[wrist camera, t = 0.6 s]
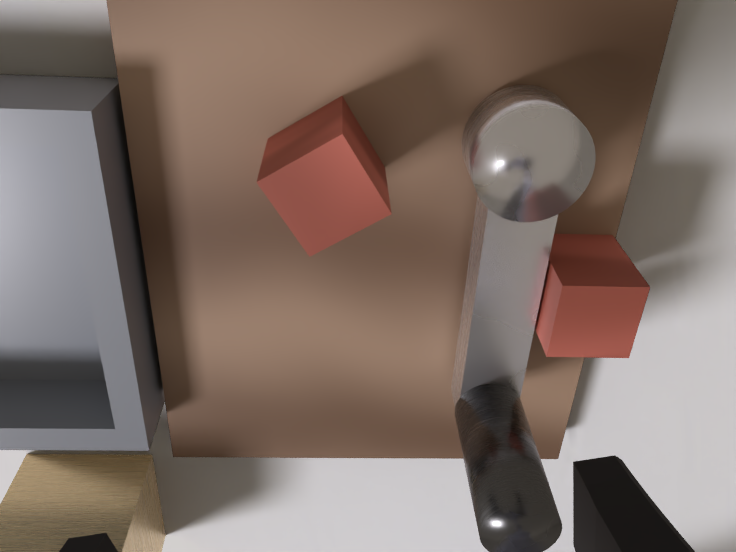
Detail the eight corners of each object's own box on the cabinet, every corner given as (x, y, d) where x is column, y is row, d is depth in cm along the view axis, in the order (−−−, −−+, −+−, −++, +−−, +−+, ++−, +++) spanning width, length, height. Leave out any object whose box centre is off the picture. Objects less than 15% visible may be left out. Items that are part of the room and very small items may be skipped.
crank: (519, 400, 20) (571, 557, 16) (430, 399, 20) (457, 558, 15) (583, 86, 15) (686, 183, 11) (468, 83, 15) (523, 178, 11)
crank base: (549, 436, 23) (581, 524, 20) (179, 433, 22) (154, 524, 19) (662, -25, 15) (741, 3, 12) (114, -48, 15) (56, -24, 12)
